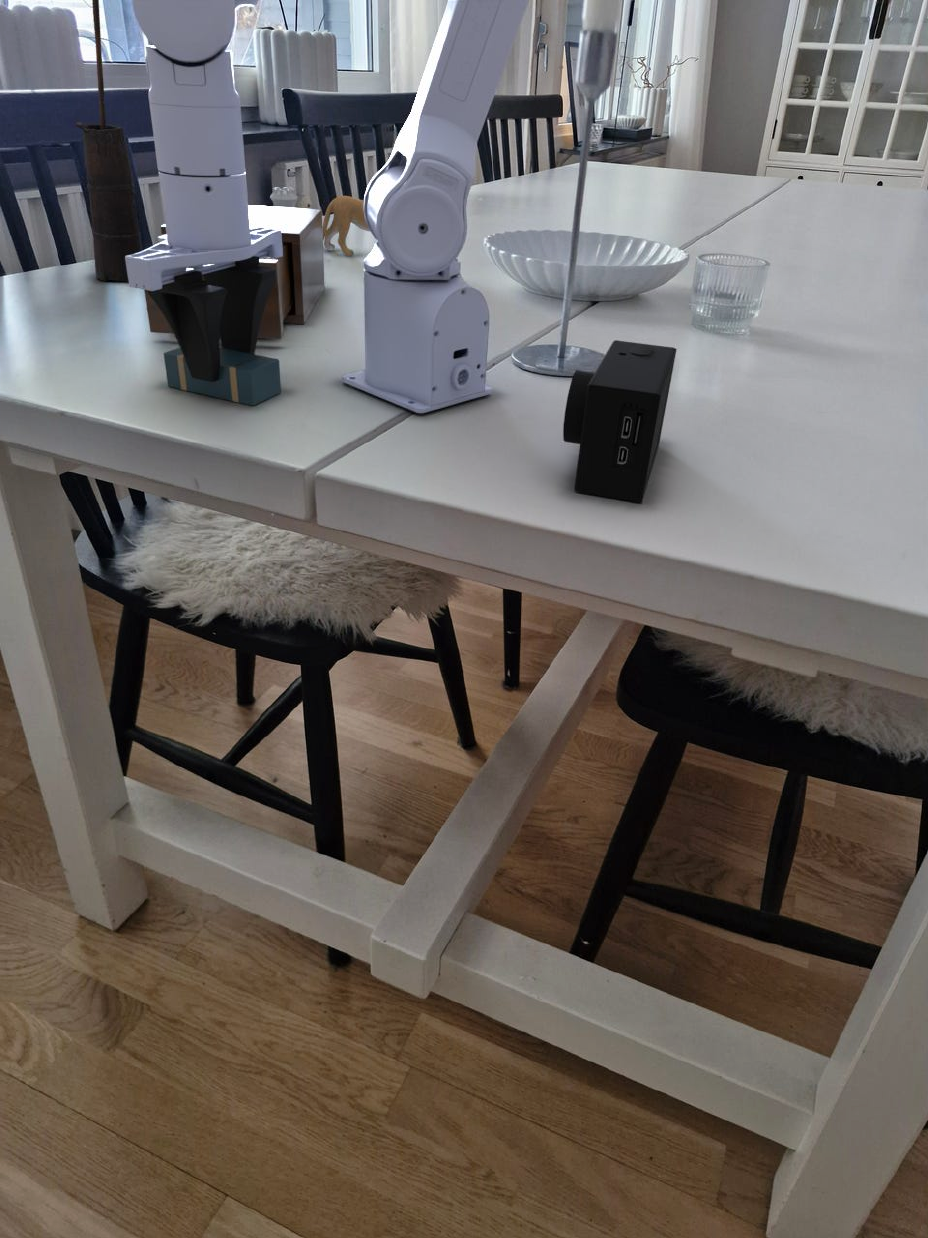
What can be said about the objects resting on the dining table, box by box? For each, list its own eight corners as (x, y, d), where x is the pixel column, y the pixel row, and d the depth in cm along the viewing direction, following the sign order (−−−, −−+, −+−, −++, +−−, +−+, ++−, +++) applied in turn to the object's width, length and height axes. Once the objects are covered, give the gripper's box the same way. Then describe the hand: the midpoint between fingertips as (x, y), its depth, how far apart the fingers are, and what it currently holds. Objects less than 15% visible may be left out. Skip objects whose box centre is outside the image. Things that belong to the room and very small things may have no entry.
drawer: (272, 353, 72) (266, 273, 68) (134, 346, 72) (121, 266, 68) (305, 301, 87) (302, 234, 83) (191, 295, 86) (183, 227, 83)
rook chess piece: (298, 265, 105) (294, 192, 101) (263, 261, 106) (258, 189, 101) (310, 258, 109) (307, 187, 104) (277, 254, 109) (272, 184, 105)
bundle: (281, 392, 67) (279, 358, 65) (253, 406, 64) (250, 371, 62) (198, 374, 69) (194, 341, 68) (167, 386, 66) (162, 352, 65)
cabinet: (304, 324, 83) (299, 233, 79) (172, 317, 83) (160, 225, 78) (324, 289, 95) (321, 209, 91) (209, 283, 95) (201, 202, 91)
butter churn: (89, 293, 89) (28, -50, 74) (55, 274, 95) (-9, -47, 79) (174, 283, 94) (133, -39, 79) (136, 266, 100) (91, -36, 85)
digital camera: (583, 433, 63) (596, 335, 59) (659, 444, 62) (677, 345, 58) (555, 489, 54) (567, 379, 50) (641, 504, 53) (661, 392, 49)
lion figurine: (420, 250, 117) (422, 175, 112) (427, 258, 112) (429, 181, 108) (310, 248, 114) (307, 172, 109) (313, 257, 109) (310, 177, 104)
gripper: (222, 158, 65) (239, 340, 73) (75, 174, 54) (112, 387, 62) (301, 167, 63) (310, 354, 70) (164, 186, 52) (191, 406, 59)
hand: (223, 371), depth 66 cm, fingers closed on bundle, 3 cm apart
